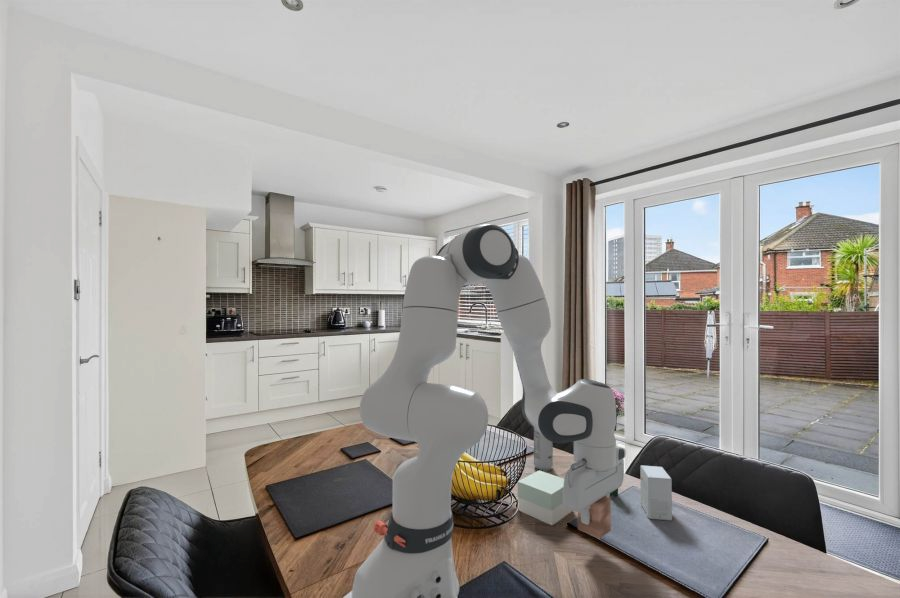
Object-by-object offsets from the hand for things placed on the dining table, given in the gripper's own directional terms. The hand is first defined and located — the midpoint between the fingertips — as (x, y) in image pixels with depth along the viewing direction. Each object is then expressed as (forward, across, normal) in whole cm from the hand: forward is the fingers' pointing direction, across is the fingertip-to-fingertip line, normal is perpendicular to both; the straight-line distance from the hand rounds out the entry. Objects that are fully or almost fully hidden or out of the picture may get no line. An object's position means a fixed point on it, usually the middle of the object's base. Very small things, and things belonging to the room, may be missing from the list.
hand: (594, 517), depth 91 cm
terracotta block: (+3, 0, 0) cm, 3 cm away
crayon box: (+7, +30, +12) cm, 33 cm away
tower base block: (+7, +7, +17) cm, 20 cm away
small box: (+7, +27, -2) cm, 28 cm away
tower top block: (+3, +6, +17) cm, 18 cm away
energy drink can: (+6, +29, +34) cm, 45 cm away
